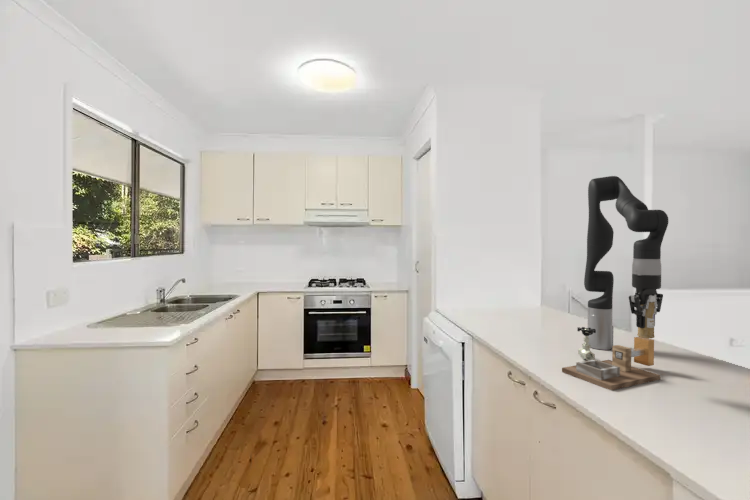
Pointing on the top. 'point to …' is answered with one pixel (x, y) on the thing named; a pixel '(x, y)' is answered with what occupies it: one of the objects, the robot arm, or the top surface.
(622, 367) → the socket base
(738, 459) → the top surface
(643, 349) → the bar
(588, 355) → the valve
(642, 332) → the spice jar
